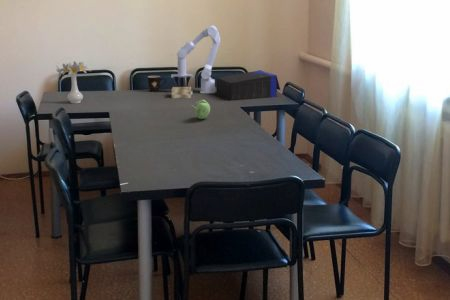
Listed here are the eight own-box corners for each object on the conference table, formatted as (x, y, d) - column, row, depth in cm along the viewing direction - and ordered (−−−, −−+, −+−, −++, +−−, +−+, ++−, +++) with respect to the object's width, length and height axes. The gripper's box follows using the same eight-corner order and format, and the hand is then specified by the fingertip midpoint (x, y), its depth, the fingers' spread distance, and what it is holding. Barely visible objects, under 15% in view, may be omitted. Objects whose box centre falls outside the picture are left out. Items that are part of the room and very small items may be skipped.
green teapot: (187, 118, 313) (187, 98, 310) (206, 116, 317) (206, 96, 314) (195, 122, 302) (195, 102, 299) (215, 120, 307) (214, 100, 304)
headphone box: (280, 97, 371) (281, 74, 367) (230, 101, 359) (230, 78, 355) (264, 90, 393) (264, 69, 390) (216, 94, 381) (216, 72, 377)
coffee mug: (146, 92, 389) (145, 77, 387) (151, 89, 397) (150, 75, 395) (162, 92, 386) (161, 78, 383) (166, 90, 394) (166, 76, 391)
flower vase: (58, 101, 358) (55, 61, 352) (88, 99, 364) (85, 60, 357) (59, 105, 347) (56, 64, 340) (90, 103, 352) (88, 62, 345)
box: (191, 94, 380) (191, 87, 378) (190, 98, 368) (190, 90, 367) (172, 94, 379) (172, 87, 378) (171, 98, 368) (171, 90, 367)
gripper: (170, 68, 379) (171, 89, 382) (192, 68, 379) (193, 89, 383) (171, 67, 385) (172, 87, 389) (193, 67, 386) (193, 87, 390)
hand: (182, 88), depth 386 cm, fingers open, 5 cm apart
